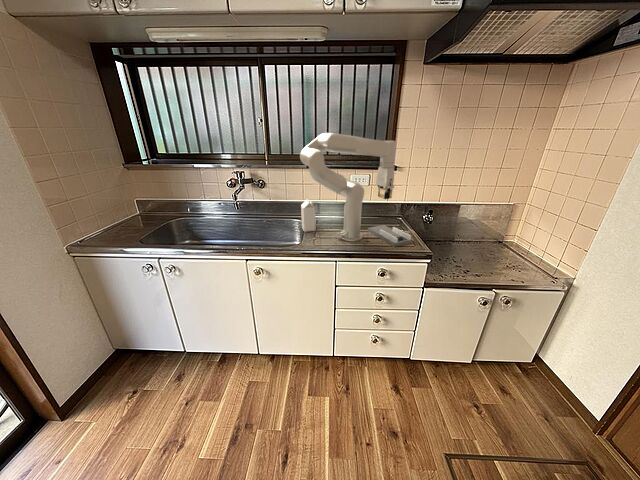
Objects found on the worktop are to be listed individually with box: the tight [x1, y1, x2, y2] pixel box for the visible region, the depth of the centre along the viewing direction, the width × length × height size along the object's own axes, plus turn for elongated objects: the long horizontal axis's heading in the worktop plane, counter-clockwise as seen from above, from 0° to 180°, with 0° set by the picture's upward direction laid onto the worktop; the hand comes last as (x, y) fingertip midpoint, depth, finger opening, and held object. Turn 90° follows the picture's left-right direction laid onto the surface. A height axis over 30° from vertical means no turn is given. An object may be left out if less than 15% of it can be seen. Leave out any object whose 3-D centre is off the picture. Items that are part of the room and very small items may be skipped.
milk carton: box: [300, 198, 316, 233], centre depth 155 cm, size 7×7×19 cm
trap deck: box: [367, 224, 413, 248], centre depth 147 cm, size 12×25×4 cm, turn 24°
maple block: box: [378, 187, 394, 200], centre depth 145 cm, size 5×5×5 cm
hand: (383, 197), depth 146 cm, fingers closed on maple block, 5 cm apart
